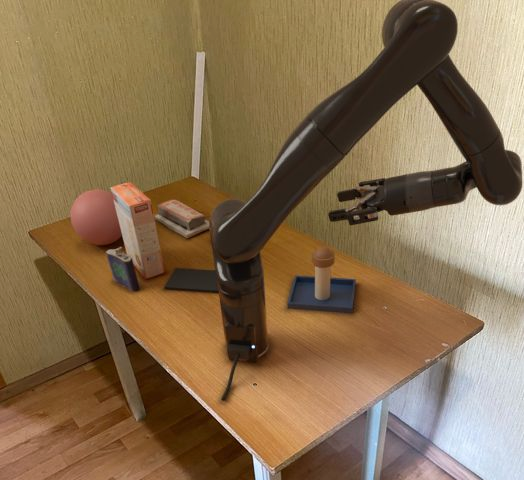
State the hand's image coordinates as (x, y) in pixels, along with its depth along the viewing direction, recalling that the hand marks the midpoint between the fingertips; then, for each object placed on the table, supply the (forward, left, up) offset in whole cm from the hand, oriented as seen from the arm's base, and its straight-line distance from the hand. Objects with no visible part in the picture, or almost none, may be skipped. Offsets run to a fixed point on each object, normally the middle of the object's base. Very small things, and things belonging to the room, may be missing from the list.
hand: (333, 206), depth 113 cm
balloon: (+22, +67, -24) cm, 74 cm away
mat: (+3, +32, -23) cm, 40 cm away
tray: (0, +2, -23) cm, 24 cm away
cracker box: (+9, +51, -24) cm, 57 cm away
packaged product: (+33, +48, -24) cm, 63 cm away
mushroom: (0, +2, -23) cm, 23 cm away
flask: (-1, +53, -24) cm, 58 cm away
